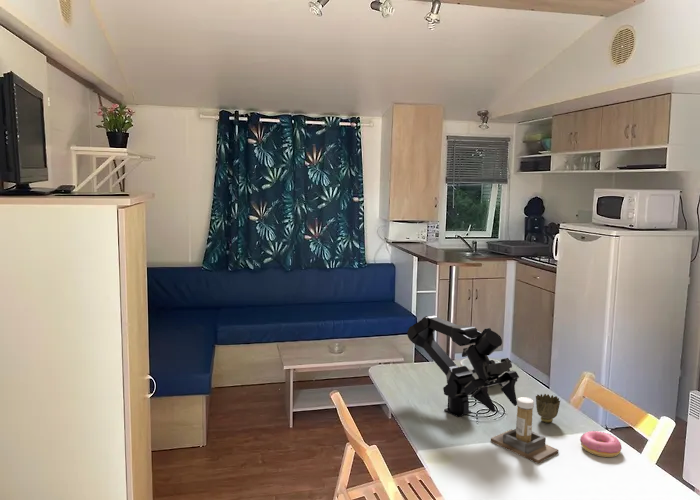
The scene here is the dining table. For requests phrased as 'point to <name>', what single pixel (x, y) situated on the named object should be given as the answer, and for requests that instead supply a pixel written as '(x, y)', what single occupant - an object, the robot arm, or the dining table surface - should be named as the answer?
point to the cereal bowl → (468, 364)
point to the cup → (547, 407)
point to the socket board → (526, 446)
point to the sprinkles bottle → (524, 419)
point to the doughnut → (600, 444)
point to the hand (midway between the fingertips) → (505, 408)
